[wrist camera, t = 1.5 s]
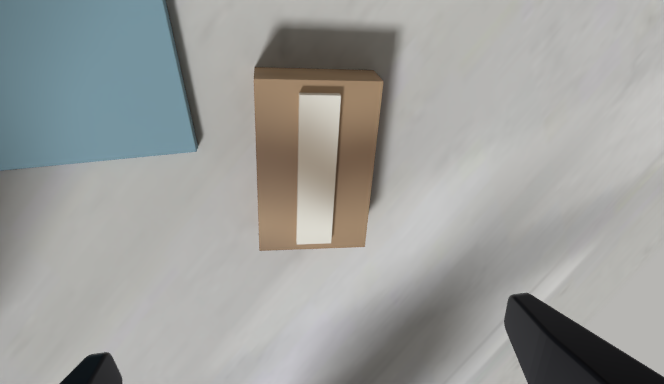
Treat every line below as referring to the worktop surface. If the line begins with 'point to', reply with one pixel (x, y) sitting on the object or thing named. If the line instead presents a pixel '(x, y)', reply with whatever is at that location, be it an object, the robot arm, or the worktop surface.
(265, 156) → the brown cardboard box
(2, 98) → the mat
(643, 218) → the worktop surface
